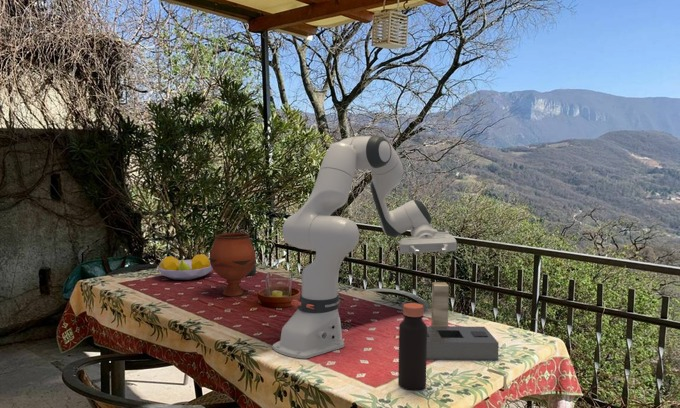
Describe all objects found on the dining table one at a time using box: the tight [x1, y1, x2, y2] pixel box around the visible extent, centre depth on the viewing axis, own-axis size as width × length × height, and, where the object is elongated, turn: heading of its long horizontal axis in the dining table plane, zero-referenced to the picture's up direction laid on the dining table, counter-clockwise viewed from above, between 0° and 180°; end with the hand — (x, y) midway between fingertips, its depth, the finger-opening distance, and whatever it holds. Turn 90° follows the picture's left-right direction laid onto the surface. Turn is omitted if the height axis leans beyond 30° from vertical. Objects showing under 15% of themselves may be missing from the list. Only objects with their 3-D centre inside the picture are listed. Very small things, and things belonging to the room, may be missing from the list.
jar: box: [245, 261, 257, 278], centre depth 246 cm, size 10×10×8 cm
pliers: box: [339, 295, 348, 303], centre depth 208 cm, size 10×1×20 cm
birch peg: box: [430, 281, 450, 326], centre depth 163 cm, size 4×4×16 cm
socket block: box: [426, 325, 499, 361], centre depth 147 cm, size 14×24×5 cm, turn 90°
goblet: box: [209, 232, 257, 297], centre depth 210 cm, size 19×19×25 cm
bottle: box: [397, 302, 428, 391], centre depth 123 cm, size 7×7×20 cm
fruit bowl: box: [156, 253, 214, 281], centre depth 239 cm, size 28×27×11 cm
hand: (430, 252), depth 174 cm, fingers open, 8 cm apart
